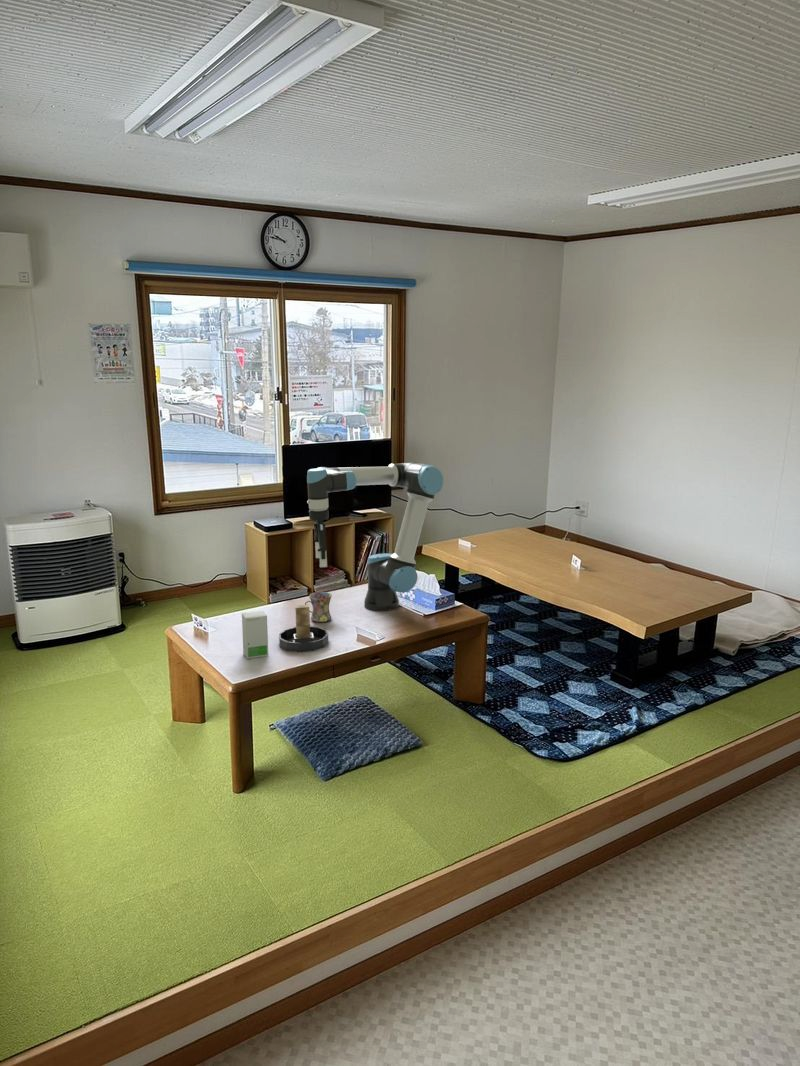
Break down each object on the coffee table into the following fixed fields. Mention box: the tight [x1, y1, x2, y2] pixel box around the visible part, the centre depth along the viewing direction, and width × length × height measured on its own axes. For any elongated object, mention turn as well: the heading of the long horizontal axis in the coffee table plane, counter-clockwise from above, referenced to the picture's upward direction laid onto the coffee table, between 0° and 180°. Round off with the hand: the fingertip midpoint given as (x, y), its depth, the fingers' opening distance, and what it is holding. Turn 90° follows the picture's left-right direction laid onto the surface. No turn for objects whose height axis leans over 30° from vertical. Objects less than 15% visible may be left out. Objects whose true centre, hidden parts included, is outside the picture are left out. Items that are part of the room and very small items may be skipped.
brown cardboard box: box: [294, 604, 311, 638], centre depth 283 cm, size 5×3×14 cm, turn 102°
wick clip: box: [293, 633, 314, 643], centre depth 284 cm, size 8×5×2 cm
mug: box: [304, 591, 333, 623], centre depth 308 cm, size 12×9×11 cm
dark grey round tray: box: [278, 625, 329, 653], centre depth 284 cm, size 18×18×4 cm
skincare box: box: [241, 610, 269, 660], centre depth 272 cm, size 8×7×16 cm
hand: (321, 562), depth 292 cm, fingers open, 13 cm apart
